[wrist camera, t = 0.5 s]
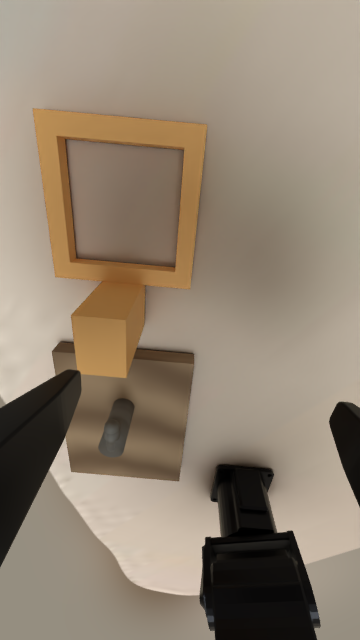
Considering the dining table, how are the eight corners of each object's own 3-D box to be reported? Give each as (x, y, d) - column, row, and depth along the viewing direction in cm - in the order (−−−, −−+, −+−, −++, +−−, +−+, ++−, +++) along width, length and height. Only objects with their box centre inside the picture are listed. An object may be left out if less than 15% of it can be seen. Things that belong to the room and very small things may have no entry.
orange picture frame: (43, 113, 16) (-50, 67, 10) (206, 128, 16) (215, 92, 10) (67, 318, 23) (20, 368, 16) (185, 328, 23) (183, 383, 16)
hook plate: (179, 468, 31) (176, 528, 25) (76, 459, 31) (52, 518, 25) (193, 354, 24) (194, 404, 18) (59, 342, 24) (20, 388, 18)
